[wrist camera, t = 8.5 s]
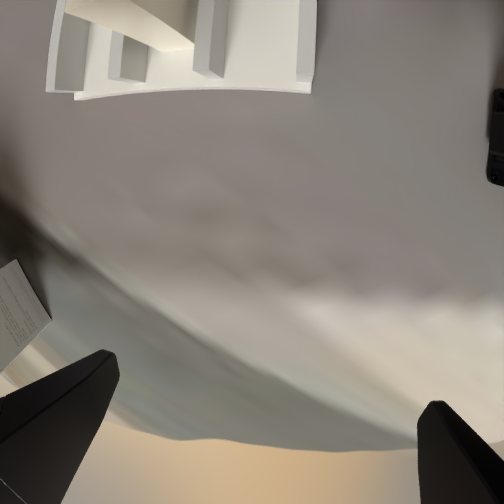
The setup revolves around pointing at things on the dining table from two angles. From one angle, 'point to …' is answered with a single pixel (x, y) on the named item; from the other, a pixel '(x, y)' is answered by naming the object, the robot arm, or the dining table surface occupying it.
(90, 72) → the rack
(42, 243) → the dining table surface
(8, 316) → the supplement box
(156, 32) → the cream rectangular tile
